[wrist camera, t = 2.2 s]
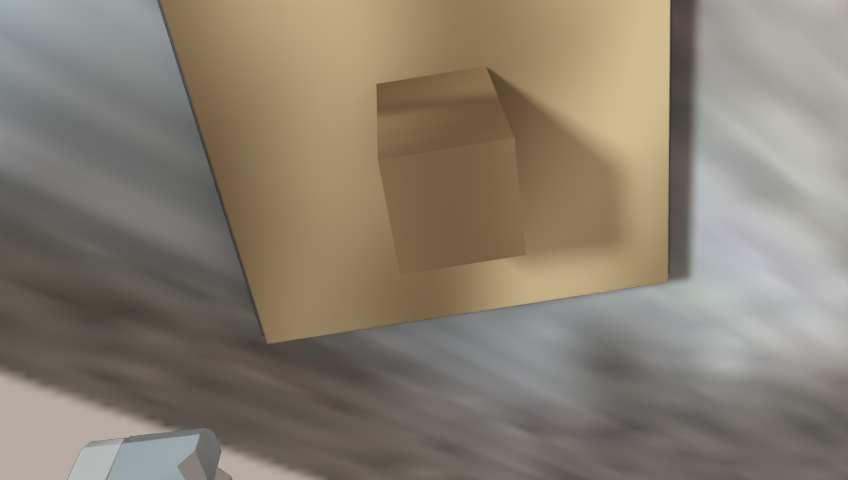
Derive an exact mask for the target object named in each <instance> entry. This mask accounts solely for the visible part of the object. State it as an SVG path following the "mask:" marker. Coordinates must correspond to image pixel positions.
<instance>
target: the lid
mask: <svg viewBox="0 0 848 480" xmlns="http://www.w3.org/2000/svg"><path fill="white" fill-rule="evenodd" d="M161 4H162V7H163V10H164V13H165V16H166V20H167V23H168V26H169V29H170V32H171V36H172V39H173V42H174V45H175V49H176V52H177V55H178V58H179V61H180V65H181V68H182V71H183V74H184V77H185V81H186V84H187V87H188V90H189V93H190V97H191V100H192V103H193V106H194V109H195V113H196V116H197V119H198V122H199V125H200V129H201V132H202V135H203V138H204V142H205V145H206V148H207V151H208V154H209V158H210V161H211V164H212V167H213V170H214V174H215V177H216V180H217V183H218V186H219V190H220V193H221V196H222V199H223V202H224V206H225V209H226V212H227V215H228V219H229V222H230V225H231V228H232V231H233V235H234V238H235V241H236V244H237V247H238V251H239V254H240V257H241V260H242V263H243V267H244V270H245V273H246V276H247V279H248V283H249V286H250V289H251V292H252V295H253V299H254V302H255V305H256V308H257V312H258V315H259V318H260V321H261V324H262V328H263V331H264V334H265V337H266V340H267V344H270V343H277V342H283V341H290V340H296V339H303V338H309V337H316V336H322V335H328V334H335V333H341V332H348V331H354V330H361V329H367V328H374V327H380V326H386V325H393V324H399V323H406V322H412V321H419V320H425V319H432V318H438V317H444V316H451V315H457V314H464V313H470V312H477V311H483V310H490V309H496V308H502V307H509V306H515V305H522V304H528V303H535V302H541V301H548V300H554V299H560V298H567V297H573V296H580V295H586V294H593V293H599V292H605V291H612V290H618V289H625V288H631V287H638V286H644V285H651V284H657V283H663V282H668V191H669V70H670V0H161Z"/></svg>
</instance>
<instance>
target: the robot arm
mask: <svg viewBox="0 0 848 480" xmlns="http://www.w3.org/2000/svg"><path fill="white" fill-rule="evenodd" d="M220 454H221V448H220V446H219V444H218V441H217V439H216V437H215V434H214V432H213V431H212V430H210V429H207V428H200V429H191V430H183V431H174V432H165V433H157V434H147V435H139V436H130V437H129V438H119V439H110V440H102V441H93V442H90V443H89V444H88V445H87V446H85V447H84V448H82V450H81V452H80V453H79V455H78V458H77V460H76V462H75V464H74V466H73V468H72V471H71V472H70V474H69V477H68V479H67V480H232V478H231V476H230V475H228V474H227V473H225V472H224V471H222V470H221V469H219V468H218V467H217V466H218V462H219V458H220Z"/></svg>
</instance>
